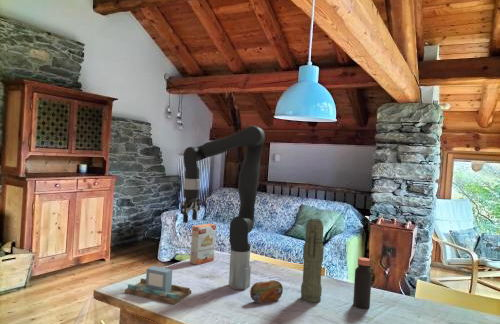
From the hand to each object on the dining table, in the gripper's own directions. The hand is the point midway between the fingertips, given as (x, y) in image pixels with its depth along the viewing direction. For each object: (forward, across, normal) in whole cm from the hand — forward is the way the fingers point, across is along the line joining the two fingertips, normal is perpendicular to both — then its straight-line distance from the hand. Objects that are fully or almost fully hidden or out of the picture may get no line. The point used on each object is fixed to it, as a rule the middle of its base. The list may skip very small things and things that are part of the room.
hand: (189, 221), depth 175 cm
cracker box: (+28, -28, -7) cm, 40 cm away
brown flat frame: (+28, +22, -1) cm, 36 cm away
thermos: (+28, -4, +60) cm, 66 cm away
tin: (+28, +7, +43) cm, 52 cm away
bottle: (+28, -8, +81) cm, 86 cm away
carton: (+27, +22, -1) cm, 35 cm away
